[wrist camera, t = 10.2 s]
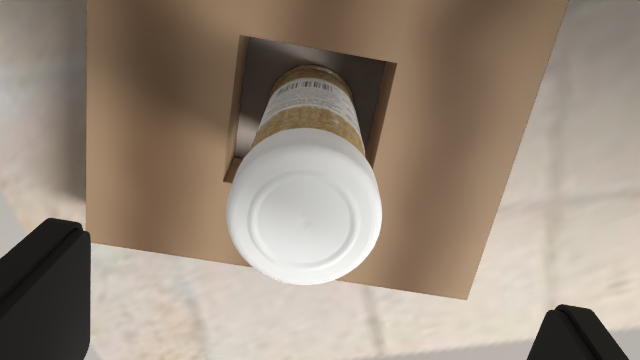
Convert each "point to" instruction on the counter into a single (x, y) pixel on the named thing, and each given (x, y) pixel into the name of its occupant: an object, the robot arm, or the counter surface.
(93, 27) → the spice holder
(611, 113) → the counter surface
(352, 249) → the sprinkles bottle
